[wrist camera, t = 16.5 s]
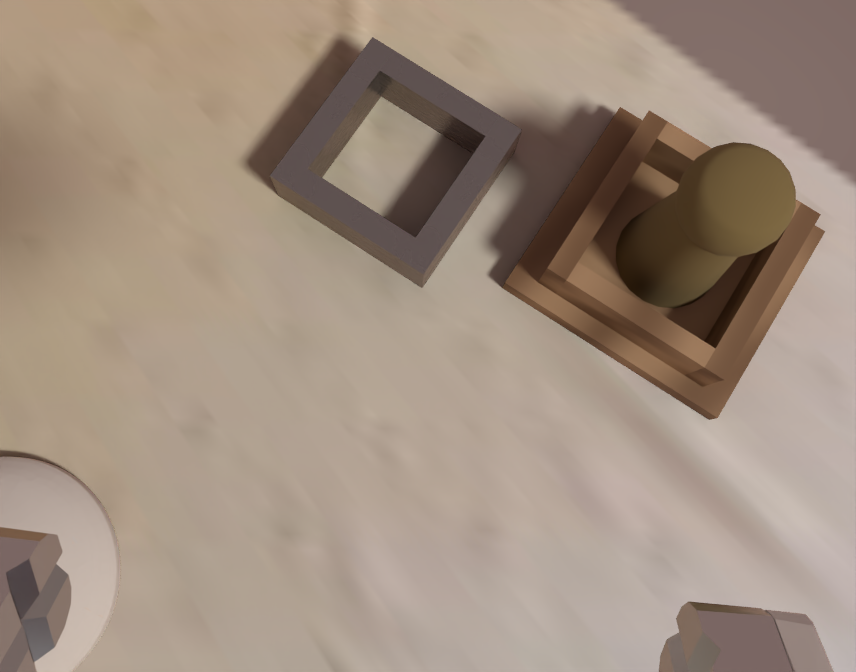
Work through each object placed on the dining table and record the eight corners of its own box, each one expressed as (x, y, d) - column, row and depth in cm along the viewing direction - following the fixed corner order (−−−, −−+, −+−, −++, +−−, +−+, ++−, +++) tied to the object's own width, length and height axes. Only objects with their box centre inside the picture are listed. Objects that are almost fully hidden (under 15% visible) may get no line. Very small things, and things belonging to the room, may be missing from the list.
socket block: (278, 195, 46) (269, 175, 43) (374, 64, 48) (372, 37, 45) (422, 287, 45) (423, 274, 42) (514, 151, 47) (521, 129, 44)
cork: (625, 196, 45) (695, 108, 35) (726, 220, 45) (827, 139, 35) (606, 294, 44) (672, 234, 34) (710, 319, 44) (809, 266, 33)
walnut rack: (502, 287, 45) (512, 268, 41) (614, 116, 48) (634, 81, 44) (709, 419, 44) (740, 413, 40) (814, 237, 47) (854, 214, 42)
